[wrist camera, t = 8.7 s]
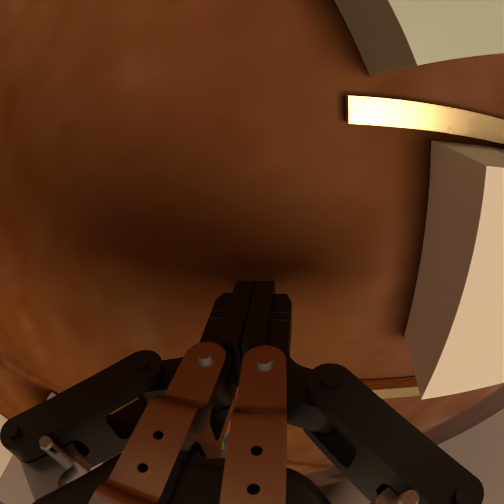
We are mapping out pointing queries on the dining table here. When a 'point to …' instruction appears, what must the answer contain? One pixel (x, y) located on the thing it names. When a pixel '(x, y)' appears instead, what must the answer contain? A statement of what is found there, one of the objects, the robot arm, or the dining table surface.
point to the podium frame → (423, 119)
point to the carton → (460, 274)
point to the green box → (422, 30)
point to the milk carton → (17, 482)
